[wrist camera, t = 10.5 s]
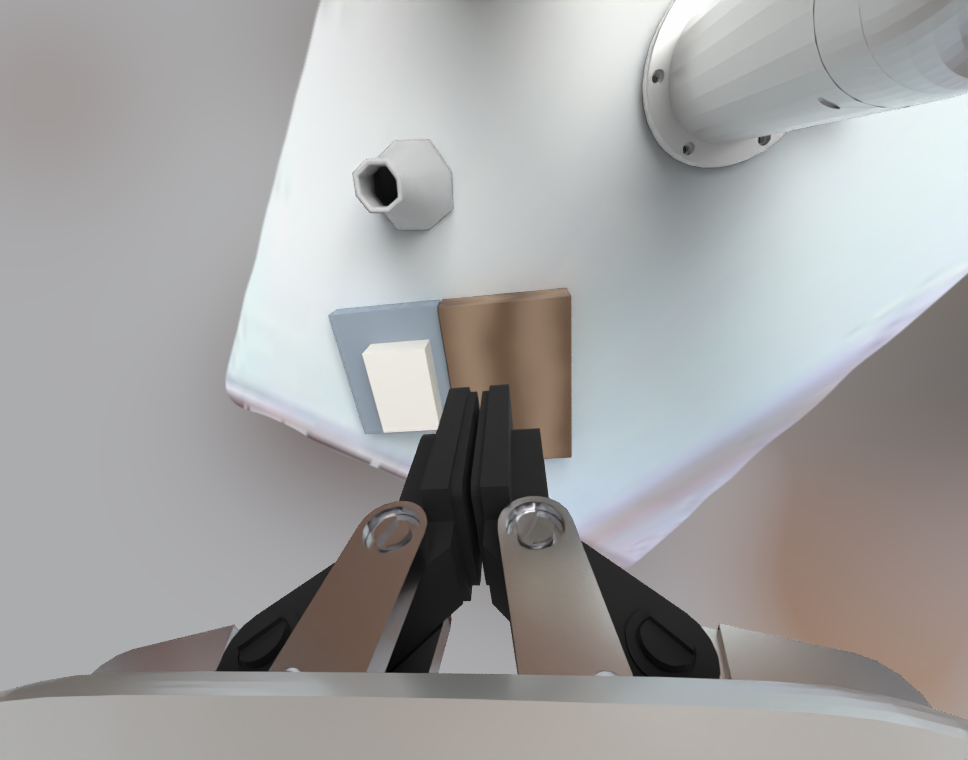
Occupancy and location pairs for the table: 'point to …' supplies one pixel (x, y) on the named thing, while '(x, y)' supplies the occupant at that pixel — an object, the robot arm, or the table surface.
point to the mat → (385, 327)
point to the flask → (406, 185)
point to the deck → (516, 356)
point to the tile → (404, 385)
